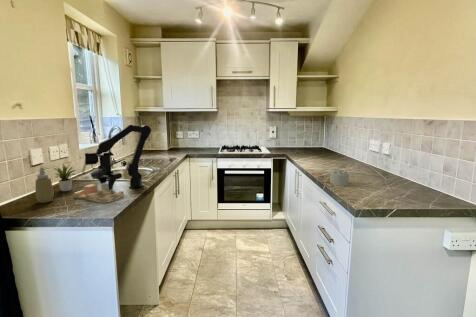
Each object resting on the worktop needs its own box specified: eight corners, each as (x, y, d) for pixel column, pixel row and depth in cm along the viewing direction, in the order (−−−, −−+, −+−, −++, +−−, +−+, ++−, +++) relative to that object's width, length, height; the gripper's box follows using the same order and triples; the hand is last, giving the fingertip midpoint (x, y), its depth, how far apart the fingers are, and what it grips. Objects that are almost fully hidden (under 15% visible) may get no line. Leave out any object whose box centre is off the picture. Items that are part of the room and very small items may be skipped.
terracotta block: (97, 193, 155) (97, 185, 154) (90, 195, 151) (89, 187, 150) (92, 192, 157) (91, 184, 156) (84, 194, 153) (84, 186, 152)
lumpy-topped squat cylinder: (344, 181, 187) (344, 168, 185) (351, 186, 174) (351, 173, 172) (328, 181, 187) (329, 168, 186) (334, 186, 174) (335, 172, 173)
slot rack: (93, 192, 162) (93, 187, 161) (123, 196, 153) (123, 191, 152) (74, 197, 151) (74, 192, 150) (105, 203, 142) (105, 197, 141)
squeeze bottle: (39, 200, 147) (35, 166, 144) (56, 198, 150) (53, 165, 147) (34, 204, 140) (29, 169, 137) (52, 202, 143) (48, 168, 140)
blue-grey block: (107, 189, 167) (107, 181, 166) (113, 190, 165) (112, 182, 164) (101, 191, 163) (100, 183, 162) (107, 192, 161) (106, 184, 160)
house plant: (65, 194, 157) (62, 166, 154) (45, 193, 160) (42, 165, 157) (84, 188, 171) (81, 162, 168) (65, 186, 173) (62, 161, 171)
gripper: (81, 164, 158) (84, 191, 160) (105, 167, 150) (108, 194, 153) (98, 161, 168) (100, 186, 170) (121, 163, 161) (123, 189, 163)
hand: (107, 189), depth 164 cm, fingers closed on blue-grey block, 4 cm apart
